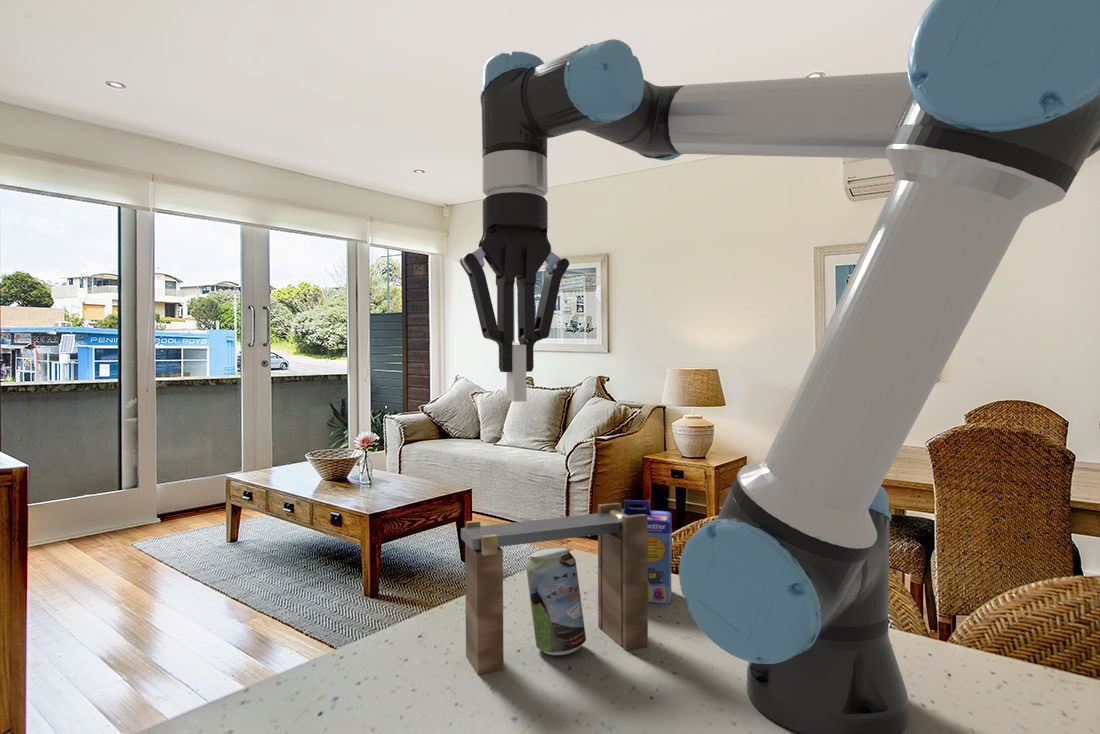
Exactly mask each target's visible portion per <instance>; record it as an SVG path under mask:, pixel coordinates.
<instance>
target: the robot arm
mask: <svg viewBox="0 0 1100 734" xmlns="http://www.w3.org/2000/svg"><path fill="white" fill-rule="evenodd" d="M642 68H643V67H642V66H641V63H640V61H639V58H638V57H637V55H634V54H633V50H632V48H631V46H630V45H629V44H627V43H626V42H624V41H622V40H619V39H616V38H615V39H611V38H610V39H607V40H604V41H600V42H598V43H591V44H589V45H588V44H585V45H583V46H581V47H579V48H577V49H576V50H573V51H571V52H569V53H566V54H564V55H562V56H559V57H556V58H554V59H551V60H549V61H546V62H544V61H543V60H542V59H541V58H540V57H538V56H537V55H535V54H533V53H529V52H525V51H511V52H510V53H505V52H500V53H498V54H496V55H494V56H493V55H492V56H491V57H490V58H489V59H488V60H487V61H486V62H485V64H484V66H483V70H482V80H481V81H482V82H481V94H480V105H481V140H482V143H481V144H482V145H481V146H482V147H481V149H482V193H483V194H484V195H485V196H486V197H485V198H484V199H482V236H481V239H480V240H479V242H478V248H477V249H475V250H474V251H471V252H469V253H467V254H465V255H463V256H461V258H460V260H459V263H460V265H461V267H462V269H463V270H464V272H465V273H466V275H467V276H468V280H469V283H470V287H471V288H470V289H471V291H472V292H471V293H472V295H473V301H474V304H475V308H476V312H477V316H478V321H479V325H480V330H481V333H482V336H483V338H484V339H487V340H491V341H493V342H495V343H496V344H497V346H498V369H499V372H500V373H506V401H508V402H514V403H515V402H516V403H517V402H527V373H528V372H529V373H530V372H531V373H532V372H533V370H534V366H535V365H534V363H535V362H534V361H535V360H534V345H535V344H536V343H537V342H539V341H541V340H544V339H547V338H548V337H550V336H549V335H550V332H551V328H552V323H553V319H554V318H553V317H554V313H555V309H556V306H557V300H558V295H559V291H560V285H561V280H562V277H563V276H564V275H565V273H566V272H567V269H568V268H569V266H570V261H569V260H568V258H561V257H560V256H558V255H557V254H555V252H553V251H552V245H551V243H550V241H549V238H548V227H549V226H548V224H549V223H548V221H549V220H548V219H549V217H548V215H549V214H548V211H549V210H548V206H549V205H548V200H547V199H546V198H545V196H546V195H547V194H548V190H549V189H548V139H550V138H551V139H552V138H555V137H559V136H562V135H566V134H571V133H574V132H578V131H582V132H586V133H588V134H591V135H593V136H596V137H597V138H601V139H603V140H606V141H609V142H611V143H612V144H616V145H618V146H621V147H623V148H626V149H628V150H630V151H632V152H635V153H637V154H638V155H640V156H642V157H644V158H648V159H654V160H659V161H664V162H665V161H666V162H667V161H671V160H674V159H676V158H679V157H680V156H682V155H707V156H708V155H709V156H710V155H712V156H713V155H714V156H749V157H750V156H751V157H752V156H753V157H754V156H756V157H758V156H759V157H795V158H796V157H800V158H801V157H803V158H805V157H806V158H839V159H840V158H841V159H848V158H849V159H883V160H884V159H885V160H888V162H889V164H890V167H891V168H892V171H893V174H894V183H893V185H892V187H891V189H890V191H889V194H888V195H887V198H886V199H885V202H884V204H883V206H882V208H881V211H880V212H879V215H878V217H877V220H876V221H875V224H874V225H873V228H872V230H871V232H870V234H869V236H868V238H867V241H866V242H865V245H864V247H863V249H862V252H861V253H860V255H859V258H858V260H857V262H856V264H855V267H854V269H853V271H852V273H851V275H850V277H849V279H848V281H847V283H846V285H845V287H844V290H843V292H842V295H841V296H840V298H839V300H838V303H837V305H836V307H835V308H834V311H833V314H832V315H831V318H830V319H829V322H828V324H827V326H826V328H825V331H824V333H823V334H822V337H821V339H820V341H819V343H818V345H817V347H816V350H815V352H814V354H813V356H812V358H811V361H810V362H809V365H808V367H807V369H806V371H805V373H804V376H803V378H802V380H801V382H800V384H799V387H798V388H797V391H796V392H795V395H794V397H793V399H792V401H791V403H790V404H789V407H788V409H787V411H786V414H785V416H784V418H783V420H782V422H781V425H780V426H779V429H778V431H777V433H776V435H775V437H774V439H773V442H772V444H771V446H770V448H769V450H768V452H767V454H766V456H765V458H764V459H762V460H759V461H756V462H753V463H748V464H747V465H746V464H745V465H743V466H742V467H741V468H740V469H739V471H738V472H737V474H736V476H735V479H734V480H733V483H732V485H731V488H730V490H729V492H728V494H727V496H726V498H725V500H724V502H723V505H722V507H721V509H720V511H719V513H718V515H717V516H716V518H715V519H714V520H711V521H708V522H705V523H704V524H702V525H701V527H700V528H699V529H696V531H695V532H694V533H693V534H692V536H691V537H690V538H688V540H687V541H686V543H685V545H684V546H683V548H682V551H681V555H680V559H679V566H678V567H679V568H678V575H679V576H678V577H679V586H680V591H681V594H682V596H684V597H685V600H686V603H687V605H688V607H687V608H688V611H689V613H690V616H691V617H692V619H693V620H694V621H695V623H696V624H697V625H698V627H699V629H700V630H701V631H702V632H703V633H704V635H705V636H707V638H708V639H709V640H710V641H711V642H712V643H714V644H715V645H717V646H718V647H719V648H720V649H721V650H723V651H724V652H726V653H728V654H729V655H731V656H734V657H735V658H737V659H740V660H742V661H745V662H748V664H747V669H746V670H747V671H746V692H747V696H748V698H749V700H750V702H751V703H752V704H753V706H754V707H755V708H756V709H757V711H760V713H761V714H763V715H764V716H765V717H767V718H768V719H770V720H771V721H773V722H775V723H777V724H779V725H780V726H783V727H785V728H787V729H789V730H792V731H795V732H796V733H799V734H901V733H902V731H904V730H905V729H906V727H907V725H908V721H909V696H908V691H907V688H906V684H905V681H904V679H903V675H902V673H901V669H900V667H899V664H898V661H897V658H896V655H895V652H894V649H893V645H892V643H891V639H890V637H889V612H890V611H889V609H890V608H889V603H890V602H889V599H890V597H889V596H890V595H889V594H890V593H889V589H890V587H889V586H890V585H889V584H890V583H889V582H890V581H889V580H890V522H892V514H891V512H890V505H889V503H890V502H889V495H888V492H887V491H886V489H885V488H884V487H883V486H882V484H883V482H884V480H885V478H886V477H887V475H888V473H889V471H890V469H891V467H892V465H893V464H894V461H895V460H896V458H897V456H898V455H899V453H900V451H901V448H902V446H903V445H904V444H905V441H906V439H907V438H908V436H909V434H910V432H911V430H912V428H913V427H914V424H915V422H916V421H917V419H918V417H919V415H920V414H921V412H922V409H923V408H924V406H925V404H926V402H927V400H928V398H929V396H930V394H931V392H932V390H933V389H934V388H935V385H936V383H937V381H938V379H939V377H940V375H941V374H942V373H943V371H944V368H945V366H946V364H947V363H948V360H949V359H950V358H951V355H952V353H953V352H954V350H955V348H956V346H957V344H958V342H959V341H960V338H961V337H962V335H963V332H964V331H965V330H966V327H967V325H968V323H969V322H970V320H971V318H972V316H973V314H974V312H975V310H976V309H977V307H978V304H979V303H980V301H981V299H982V297H983V295H984V294H985V291H986V290H987V288H988V286H989V285H990V282H991V280H992V279H993V277H994V275H995V273H996V271H997V269H998V268H999V265H1000V263H1001V262H1002V260H1003V258H1004V256H1005V254H1006V253H1007V251H1008V249H1009V247H1010V245H1011V243H1012V241H1013V239H1014V238H1015V236H1016V234H1017V233H1018V232H1017V231H1018V230H1019V228H1020V226H1021V224H1022V222H1023V221H1024V219H1025V218H1027V217H1028V216H1029V215H1031V214H1032V213H1035V212H1037V211H1039V210H1042V209H1044V208H1047V207H1050V206H1051V205H1055V204H1057V203H1059V202H1062V200H1064V199H1065V197H1066V195H1067V193H1068V190H1069V189H1070V187H1071V186H1072V184H1073V182H1074V180H1075V178H1076V176H1078V173H1079V172H1080V170H1081V168H1082V166H1083V164H1084V162H1085V161H1086V160H1087V159H1088V158H1090V157H1092V156H1093V155H1094V154H1095V153H1097V152H1099V151H1100V0H932V1H931V3H930V4H929V5H928V7H927V8H926V9H925V10H924V12H923V14H922V16H921V17H920V19H919V21H918V23H917V25H916V27H915V29H914V31H913V34H912V37H911V41H910V43H909V48H908V55H907V71H899V72H883V73H882V72H881V73H879V72H878V73H864V74H849V75H832V76H831V75H830V76H814V77H812V76H810V77H798V78H795V77H794V78H780V79H778V78H777V79H763V80H761V79H760V80H745V81H744V80H743V81H732V82H731V81H730V82H729V81H728V82H712V83H697V84H696V83H695V84H694V83H693V84H687V85H686V84H684V85H683V84H681V85H663V86H662V85H655V84H653V83H651V82H650V81H648V80H646V79H644V73H643V69H642ZM484 259H485V260H484ZM485 261H486V263H487V264H488V266H489V267H490V268H491V270H492V272H493V273H494V274H495V285H496V295H497V296H496V303H497V304H496V315H495V311H494V307H493V302H492V298H491V293H490V291H489V286H488V281H487V277H486V274H485V270H484V267H485ZM544 263H545V266H544V269H545V271H546V274H545V276H544V280H543V282H542V283H543V284H542V288H541V292H540V297H539V300H538V301H539V302H538V307H537V311H535V309H536V307H535V306H536V304H535V303H536V302H535V301H536V300H535V296H536V295H535V290H536V289H535V286H536V283H537V273H538V271H539V270H540V269H541V267H543V265H544ZM515 283H516V287H517V336H518V337H517V339H518V340H517V341H518V343H519V344H513V342H514V340H515V335H514V334H515V331H514V330H515V319H514V318H515V317H514V316H515V313H514V309H515V308H514V302H515V301H514V297H515V296H514V295H515V294H514V293H515V292H514V291H515V289H514V287H515Z"/></svg>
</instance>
